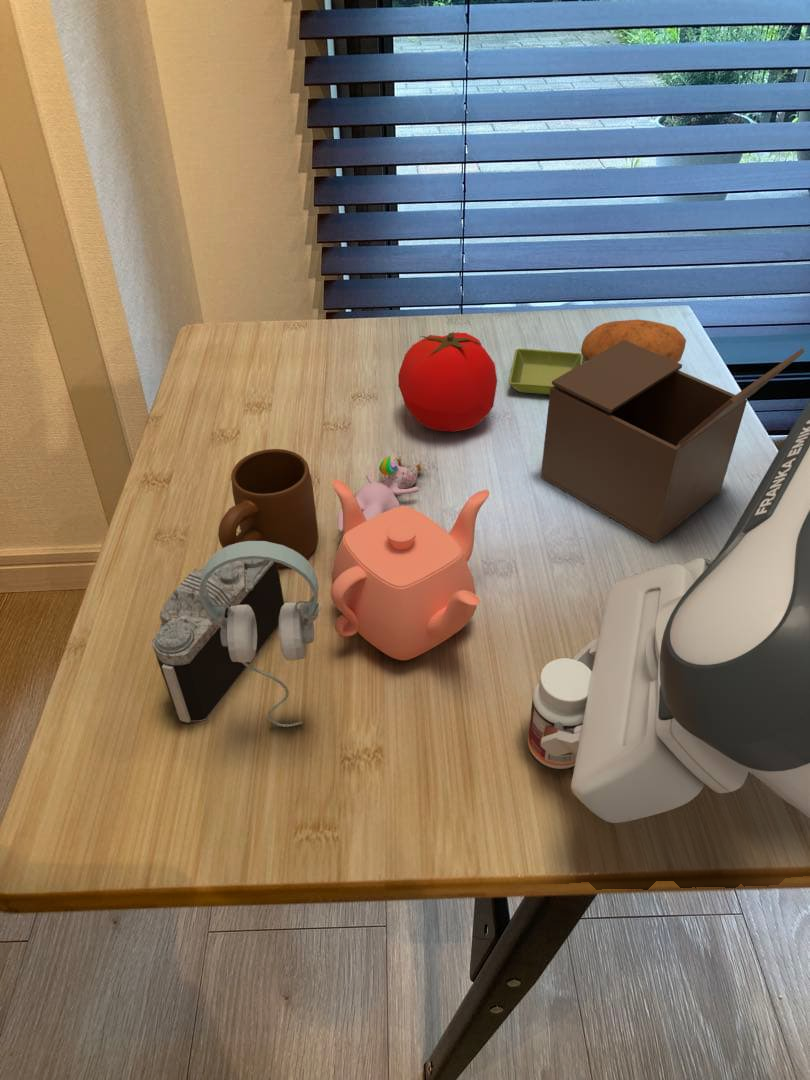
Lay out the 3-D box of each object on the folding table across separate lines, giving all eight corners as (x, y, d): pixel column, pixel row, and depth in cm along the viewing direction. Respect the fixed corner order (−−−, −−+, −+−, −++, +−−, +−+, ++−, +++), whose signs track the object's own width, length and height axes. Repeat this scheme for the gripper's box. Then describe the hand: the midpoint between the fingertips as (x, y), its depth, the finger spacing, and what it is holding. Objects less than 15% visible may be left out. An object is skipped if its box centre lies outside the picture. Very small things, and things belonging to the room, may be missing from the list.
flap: (748, 392, 82) (750, 395, 82) (677, 442, 77) (680, 446, 76) (802, 347, 76) (805, 351, 76) (730, 398, 70) (733, 402, 70)
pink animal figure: (384, 475, 96) (318, 538, 85) (386, 427, 93) (317, 487, 81) (434, 488, 94) (373, 556, 83) (438, 440, 91) (375, 503, 79)
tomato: (477, 456, 96) (481, 370, 89) (385, 436, 99) (381, 352, 92) (508, 402, 104) (513, 319, 97) (421, 385, 108) (420, 304, 100)
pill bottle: (551, 710, 70) (561, 643, 64) (599, 744, 67) (614, 678, 62) (514, 745, 67) (521, 678, 62) (562, 782, 65) (574, 716, 59)
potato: (671, 394, 105) (675, 345, 100) (574, 377, 111) (573, 330, 106) (688, 361, 109) (693, 313, 104) (593, 346, 115) (593, 299, 110)
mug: (268, 609, 79) (253, 535, 73) (202, 584, 82) (183, 510, 75) (333, 532, 87) (325, 459, 81) (271, 512, 90) (259, 439, 83)
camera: (233, 589, 81) (215, 509, 74) (294, 610, 79) (281, 530, 72) (135, 703, 71) (104, 623, 65) (201, 730, 69) (175, 651, 62)
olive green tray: (507, 397, 105) (508, 382, 104) (514, 361, 111) (515, 347, 110) (577, 403, 104) (579, 389, 102) (581, 367, 110) (583, 353, 109)
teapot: (341, 560, 84) (332, 472, 77) (484, 571, 82) (490, 482, 75) (311, 674, 73) (297, 585, 66) (475, 688, 72) (480, 598, 64)
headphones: (233, 749, 68) (183, 571, 54) (238, 709, 71) (192, 531, 57) (336, 745, 68) (312, 566, 54) (337, 704, 71) (314, 525, 57)
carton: (720, 491, 91) (749, 392, 82) (654, 543, 85) (678, 443, 76) (607, 433, 99) (623, 339, 91) (540, 477, 93) (550, 380, 85)
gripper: (696, 523, 62) (551, 591, 71) (676, 752, 48) (498, 800, 57) (744, 578, 64) (598, 637, 73) (740, 814, 50) (558, 851, 58)
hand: (554, 710), depth 65 cm, fingers closed on pill bottle, 5 cm apart
